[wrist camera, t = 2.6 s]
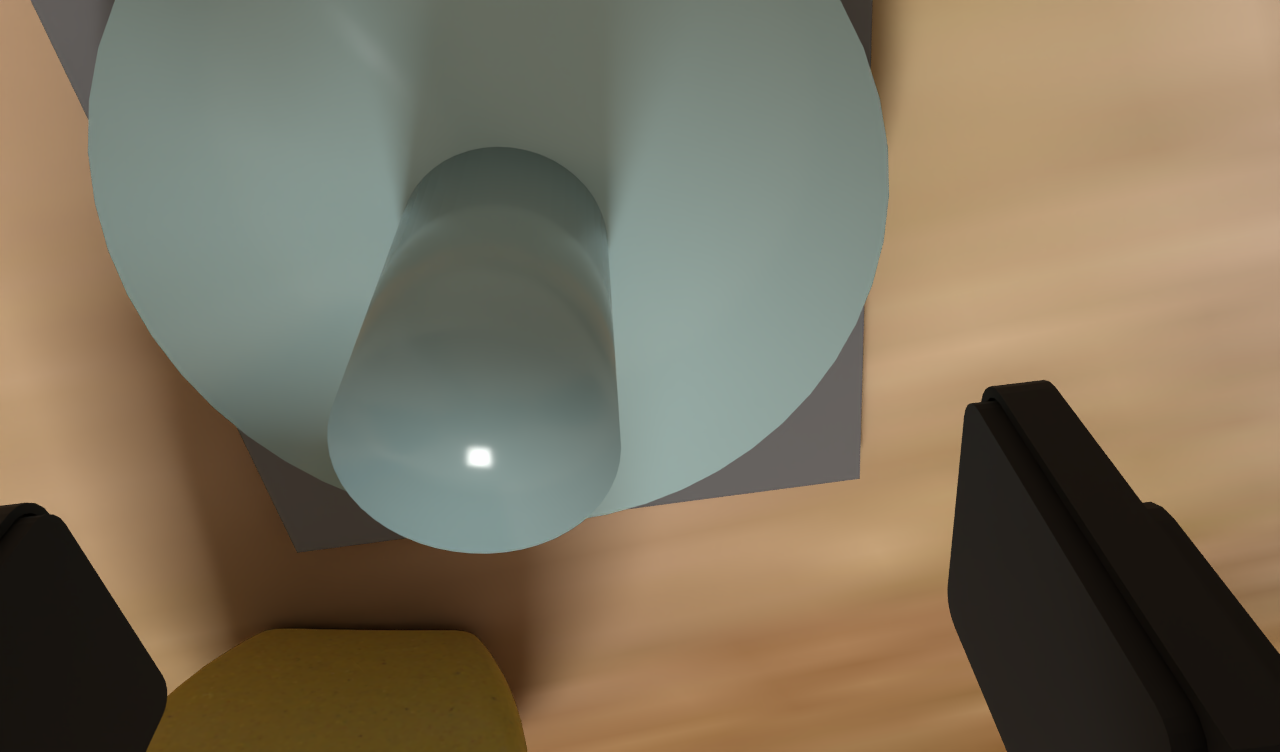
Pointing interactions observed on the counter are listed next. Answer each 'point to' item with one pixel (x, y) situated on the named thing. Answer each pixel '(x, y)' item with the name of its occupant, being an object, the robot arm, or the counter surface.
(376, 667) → the flower pot
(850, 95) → the lid
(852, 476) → the mat
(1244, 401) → the counter surface
